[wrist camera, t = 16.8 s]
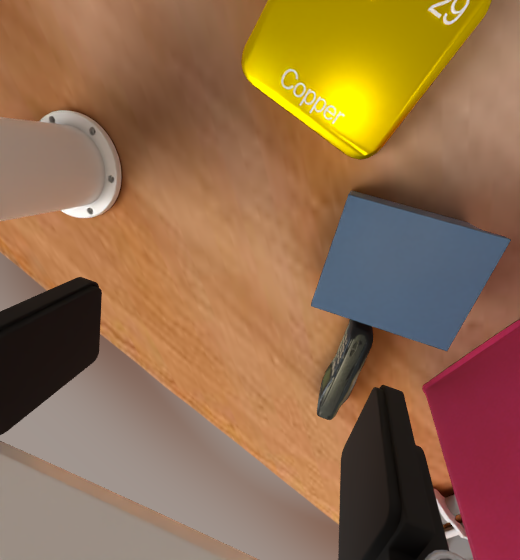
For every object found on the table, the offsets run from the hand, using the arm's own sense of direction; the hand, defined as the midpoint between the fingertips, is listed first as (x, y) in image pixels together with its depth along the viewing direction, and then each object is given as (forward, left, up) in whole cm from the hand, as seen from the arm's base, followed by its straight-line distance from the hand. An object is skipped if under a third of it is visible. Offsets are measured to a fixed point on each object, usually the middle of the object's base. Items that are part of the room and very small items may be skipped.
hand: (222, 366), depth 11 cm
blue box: (+9, -1, -28) cm, 30 cm away
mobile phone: (+9, -16, -28) cm, 34 cm away
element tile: (-1, +16, -28) cm, 33 cm away
